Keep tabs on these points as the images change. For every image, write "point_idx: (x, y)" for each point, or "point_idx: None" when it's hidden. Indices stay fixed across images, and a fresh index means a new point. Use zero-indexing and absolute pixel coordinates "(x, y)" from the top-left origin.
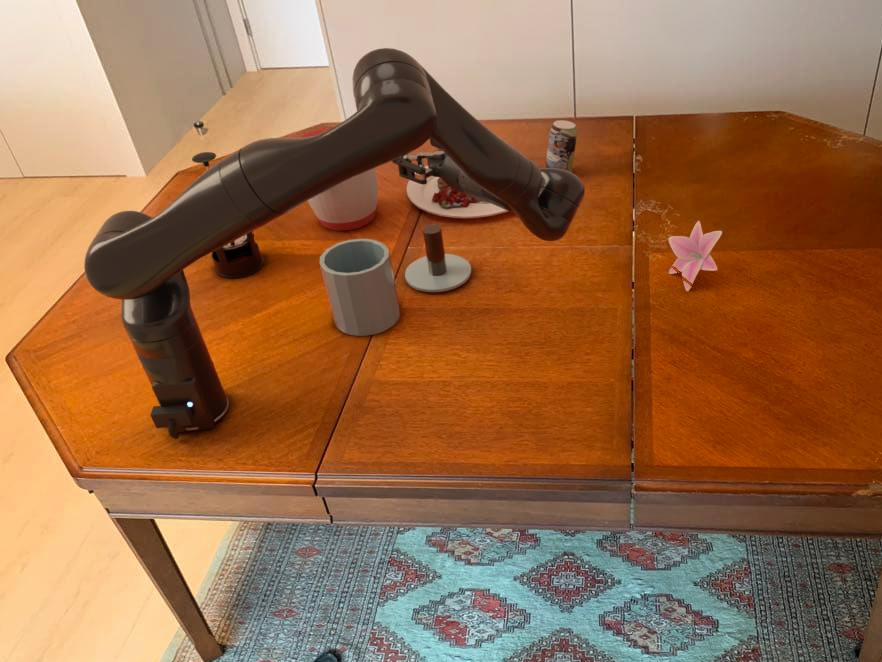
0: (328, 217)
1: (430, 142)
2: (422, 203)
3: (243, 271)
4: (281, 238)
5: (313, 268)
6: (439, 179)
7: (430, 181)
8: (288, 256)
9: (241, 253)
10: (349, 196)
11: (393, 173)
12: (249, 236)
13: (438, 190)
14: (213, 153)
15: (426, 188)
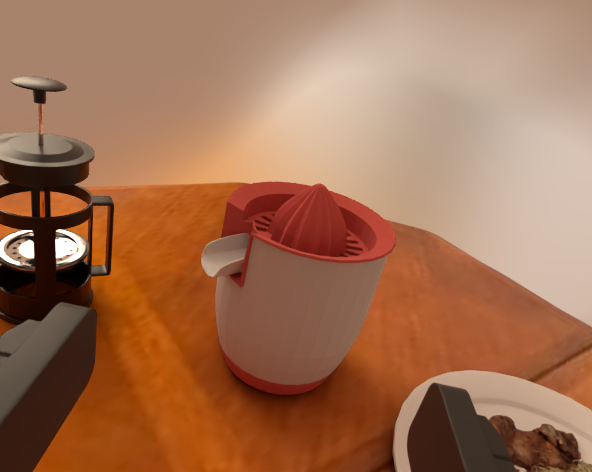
0: (218, 332)
1: (411, 426)
2: None
3: (6, 310)
4: (159, 306)
5: None
6: (495, 419)
7: (478, 405)
8: (104, 341)
9: (78, 284)
10: (255, 328)
11: (435, 340)
12: (41, 264)
13: None
14: (58, 87)
15: None
